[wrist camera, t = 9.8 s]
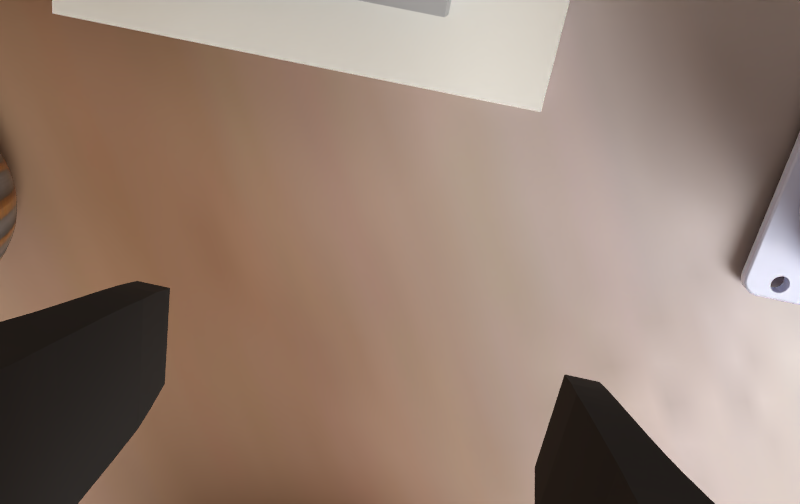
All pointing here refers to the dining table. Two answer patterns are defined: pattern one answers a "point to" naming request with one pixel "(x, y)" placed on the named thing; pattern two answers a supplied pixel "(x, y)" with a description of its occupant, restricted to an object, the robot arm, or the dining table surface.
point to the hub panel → (370, 37)
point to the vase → (6, 206)
